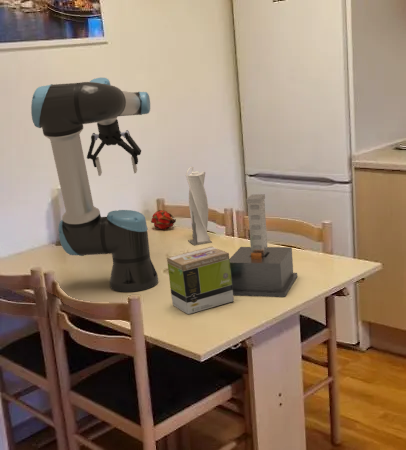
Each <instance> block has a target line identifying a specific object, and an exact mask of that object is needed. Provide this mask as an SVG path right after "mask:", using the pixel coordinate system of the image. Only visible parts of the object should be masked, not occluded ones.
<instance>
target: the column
mask: <svg viewBox="0 0 406 450" xmlns="http://www.w3.org/2000/svg"><path fill="white" fill-rule="evenodd" d="M265 199H266V194H261V193H260V194H259V193H258V194H254V193H253V194H250V195H249V196H248V197H247V198H246V199H245V200H246V204H247V213H248V217H247V218H248V227H249V230H248V231H249V241H250V243H249V244H250V247H251V253H262V257H267V255H268V248H267V247H268V238H267V236H268V235H267V233H268V232H267V220H266V219H267V218H266V207H265V206H266V205H265V203H266V202H265Z"/></svg>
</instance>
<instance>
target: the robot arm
mask: <svg viewBox="0 0 406 450" xmlns="http://www.w3.org/2000/svg"><path fill="white" fill-rule="evenodd" d="M31 98H32V99H31V105H30V106H31V107H30V110H31V112H30V113H31V120H32V122H33V124H34V126H35V128H38V129H42V133H43V136H45V137H46V138H47V139H49V141H50V145H51V150H52V155H53V159H54V164H55V168H56V172H57V177H58V182H59V187H60V191H61V195H62V196H61V197H62V201H63V205H64V209H65V212H64V213H63V215H62V217H61V220H60V221H59V223H58V230H57V231H58V239H59V243H60V245H61V248H62V249H63V251H64V252H65V254H68V255H69V256H80V257H84V256H94V255H95V256H97V255H111V256H112V266H111V267H112V268H111V271H110V272H111V273H110V278H109V284H110V285H109V288H111V290H113V291H115V292H121V293H122V292H123V293H133V292H140V291H144V290H148V289H151V288H153V287H155V286H156V285H158V283H159V277H158V273H157V270H156V268H155V266H154V264H153V262H152V260H151V259H152V258H151V254H150V244H149V234H148V230H149V229H148V228H149V227H148V226H147V220H146V219H147V218H146V217H145V215H144V214H143V213H141V212H139V211H136V210H133V209H132V210H131V209H119V210H111V211H109V212H108V213H107V215H106V216H101V210H100V209H99V208H97V207H96V206H95V205H94V202H93V201H94V200H93V196H92V190H91V186H90V181H89V176H88V171H87V166H86V160H85V156H84V151H83V150H84V149H83V145H82V139H81V136H80V134H81V132H83V130H84V125H87V124H94V123H96V126H97V131H98V133H97V134H96V133H95V132H93V133H92V134H91V136H90V140H91V141H90V145H89V148H88V153H87V154H86V159H87V160H92V164H93V167H94V168H96V170H97V174H98V177H100V176H102V173H103V170H102V166H101V161H100V158H99V156H98V155H100V152H101V151H102V149H103V148H104V146H116V145H117V146H118V147H121V148H122V149H123V150H125V151H126V152H127V153H128V154H129V155H131V156H130V159H131V165H132V168H133V174H137V171H138V167H137V165H138V163H139V157H138V156H140V155H141V153H142V149H141V148H140V147H139V145H138V144H137V143H136V141H135V140H134V139H133V137H132V136H131V135H130V131H129V130H128V129H127V130H125V131H121V129H120V125H119V121H118V117H125V116H142V115H148V114H149V113H150V111H151V98H150V94H149V93H148V92H147V91H138V92H137V91H135V92H131V91H126V90H121V88H119V87H117V86H115V85H111V81H110V79H109V78H107V77H97V78H93V79H91V80H89V81H82V82H74V83H59V84H57V83H56V84H47V85H41V86H38V87H37V88H36V89H35V90H34V92H33V95H32V97H31ZM122 137H123V138H124V139H125V140H126V142H125V140H124V139H123V138H122ZM98 139H99V140H100V141H101V142H100V144H99V146H98V147H97V149H96V150H95V151H94V147H95V144H96V141H97V140H98ZM93 152H94V153H93ZM92 153H93V154H92Z"/></svg>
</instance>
